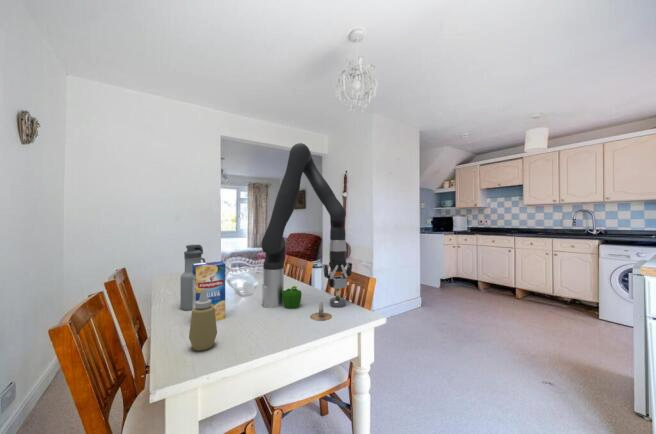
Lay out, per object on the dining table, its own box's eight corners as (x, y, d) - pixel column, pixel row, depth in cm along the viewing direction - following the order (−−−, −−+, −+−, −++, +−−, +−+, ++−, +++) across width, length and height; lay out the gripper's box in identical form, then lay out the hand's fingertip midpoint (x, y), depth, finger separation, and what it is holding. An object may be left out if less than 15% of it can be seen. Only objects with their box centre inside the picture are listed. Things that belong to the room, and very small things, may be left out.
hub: (331, 311, 115) (332, 292, 115) (323, 304, 124) (323, 287, 124) (352, 308, 119) (352, 290, 119) (342, 301, 128) (342, 284, 128)
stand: (314, 323, 102) (314, 308, 102) (307, 315, 110) (307, 301, 110) (335, 320, 105) (335, 305, 105) (327, 312, 114) (327, 298, 113)
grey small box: (334, 288, 117) (334, 279, 117) (329, 285, 123) (329, 276, 123) (346, 287, 120) (346, 278, 120) (340, 284, 125) (340, 275, 125)
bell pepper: (279, 306, 120) (279, 284, 120) (295, 303, 125) (295, 282, 125) (287, 312, 113) (288, 289, 113) (304, 308, 118) (304, 286, 118)
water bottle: (189, 302, 126) (189, 243, 125) (209, 303, 125) (209, 243, 125) (175, 310, 115) (175, 246, 115) (196, 311, 115) (196, 246, 114)
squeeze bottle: (195, 341, 87) (195, 286, 87) (220, 340, 88) (220, 286, 88) (184, 353, 79) (184, 293, 79) (212, 352, 80) (212, 293, 80)
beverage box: (192, 319, 106) (192, 264, 106) (220, 313, 112) (221, 261, 112) (195, 324, 100) (195, 266, 100) (225, 318, 107) (225, 263, 107)
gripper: (348, 247, 128) (348, 282, 128) (320, 249, 122) (320, 285, 122) (355, 249, 121) (355, 286, 121) (326, 251, 115) (326, 290, 115)
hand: (337, 286), depth 121 cm, fingers closed on grey small box, 6 cm apart
